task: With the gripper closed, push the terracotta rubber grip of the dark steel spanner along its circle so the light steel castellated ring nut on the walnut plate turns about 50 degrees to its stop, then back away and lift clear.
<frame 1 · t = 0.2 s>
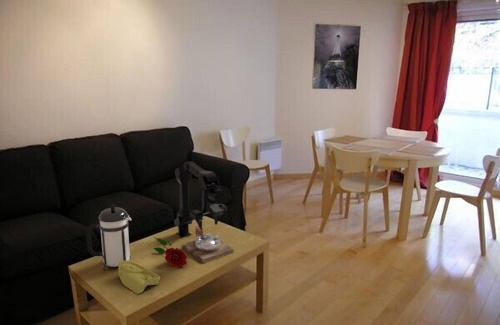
hand: (208, 227, 188), 14 cm above the table, tool pointing down, fingers open, 9 cm apart
plastic component: (138, 281, 165), on the table
flower: (167, 257, 187), on the table
coffee press: (114, 264, 179), on the table
ring nut: (205, 238, 195), point 6 cm above the table, hinge at 0.0°
nut housing: (208, 250, 194), on the table
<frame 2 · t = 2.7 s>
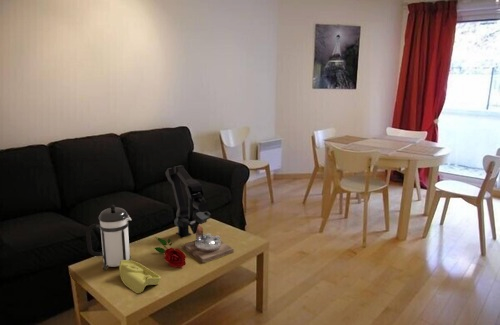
hand: (194, 233, 199), 6 cm above the table, tool pointing down, fingers closed
ring nut: (205, 238, 195), point 6 cm above the table, hinge at 0.4°, touching gripper
everything else where it was.
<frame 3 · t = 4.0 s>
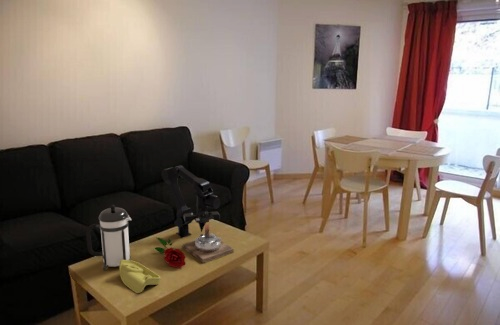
hand: (201, 231, 202), 6 cm above the table, tool pointing down, fingers closed
ring nut: (207, 237, 196), point 6 cm above the table, hinge at 24.8°, touching gripper
everything else where it was.
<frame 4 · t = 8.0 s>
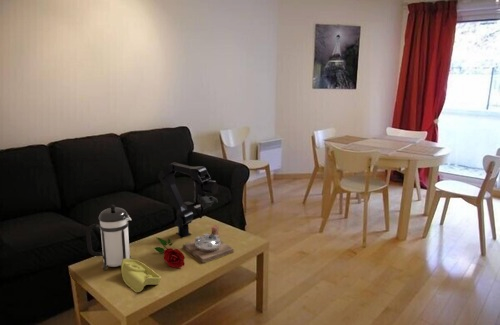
hand: (200, 218, 202), 13 cm above the table, tool pointing down, fingers closed
ring nut: (209, 237, 195), point 6 cm above the table, hinge at 50.1°
at the end: ring nut at +50° (first picture: +0°) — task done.
